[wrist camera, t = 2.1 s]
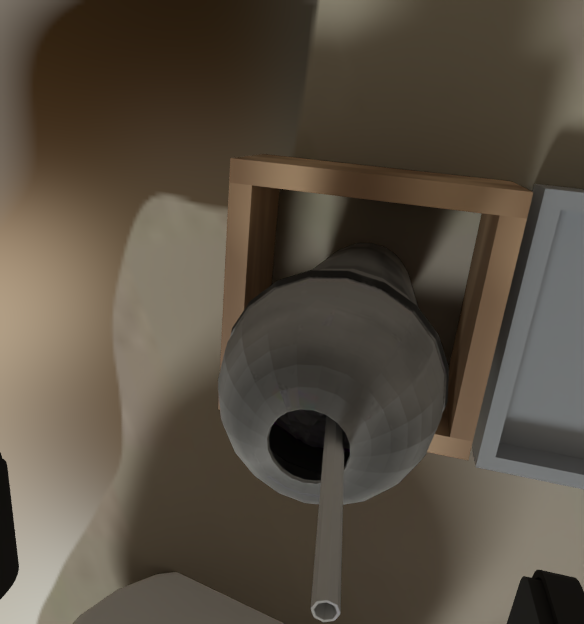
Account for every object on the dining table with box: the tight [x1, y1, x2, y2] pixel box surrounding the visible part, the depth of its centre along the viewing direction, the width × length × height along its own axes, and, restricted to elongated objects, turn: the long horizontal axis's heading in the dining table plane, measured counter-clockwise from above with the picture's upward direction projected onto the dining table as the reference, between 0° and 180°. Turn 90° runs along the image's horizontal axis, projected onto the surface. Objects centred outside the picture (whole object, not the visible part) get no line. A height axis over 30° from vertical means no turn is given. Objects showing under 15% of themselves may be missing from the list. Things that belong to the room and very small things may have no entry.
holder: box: [218, 154, 533, 460], centre depth 25 cm, size 12×12×5 cm
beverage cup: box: [218, 243, 449, 622], centre depth 18 cm, size 7×7×20 cm
